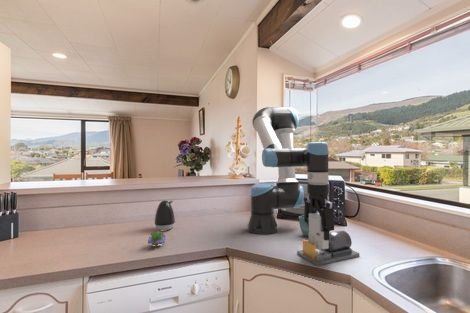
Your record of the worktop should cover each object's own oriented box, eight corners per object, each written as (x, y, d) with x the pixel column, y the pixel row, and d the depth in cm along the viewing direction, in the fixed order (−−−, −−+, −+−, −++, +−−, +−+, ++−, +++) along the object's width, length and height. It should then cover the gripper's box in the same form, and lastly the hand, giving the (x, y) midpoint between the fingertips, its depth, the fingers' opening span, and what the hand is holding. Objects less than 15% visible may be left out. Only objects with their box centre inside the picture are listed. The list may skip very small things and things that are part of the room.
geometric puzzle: (163, 246, 99) (164, 226, 103) (145, 247, 97) (147, 227, 102) (165, 251, 104) (166, 232, 109) (148, 252, 103) (150, 233, 108)
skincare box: (308, 245, 93) (307, 213, 93) (317, 243, 95) (316, 211, 95) (319, 250, 88) (319, 216, 88) (329, 248, 89) (328, 215, 90)
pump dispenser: (179, 228, 129) (179, 199, 129) (164, 234, 121) (163, 203, 121) (166, 225, 135) (165, 198, 135) (150, 230, 126) (150, 201, 126)
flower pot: (307, 231, 122) (307, 213, 122) (324, 235, 116) (324, 216, 116) (298, 235, 116) (298, 216, 116) (315, 240, 110) (315, 220, 110)
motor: (297, 254, 95) (297, 232, 94) (337, 246, 102) (337, 226, 102) (316, 265, 84) (316, 242, 84) (359, 256, 92) (359, 234, 92)
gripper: (294, 181, 99) (294, 239, 99) (328, 186, 81) (329, 256, 81) (309, 180, 102) (309, 236, 102) (345, 185, 84) (346, 253, 84)
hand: (318, 245), depth 91 cm, fingers closed on skincare box, 6 cm apart
